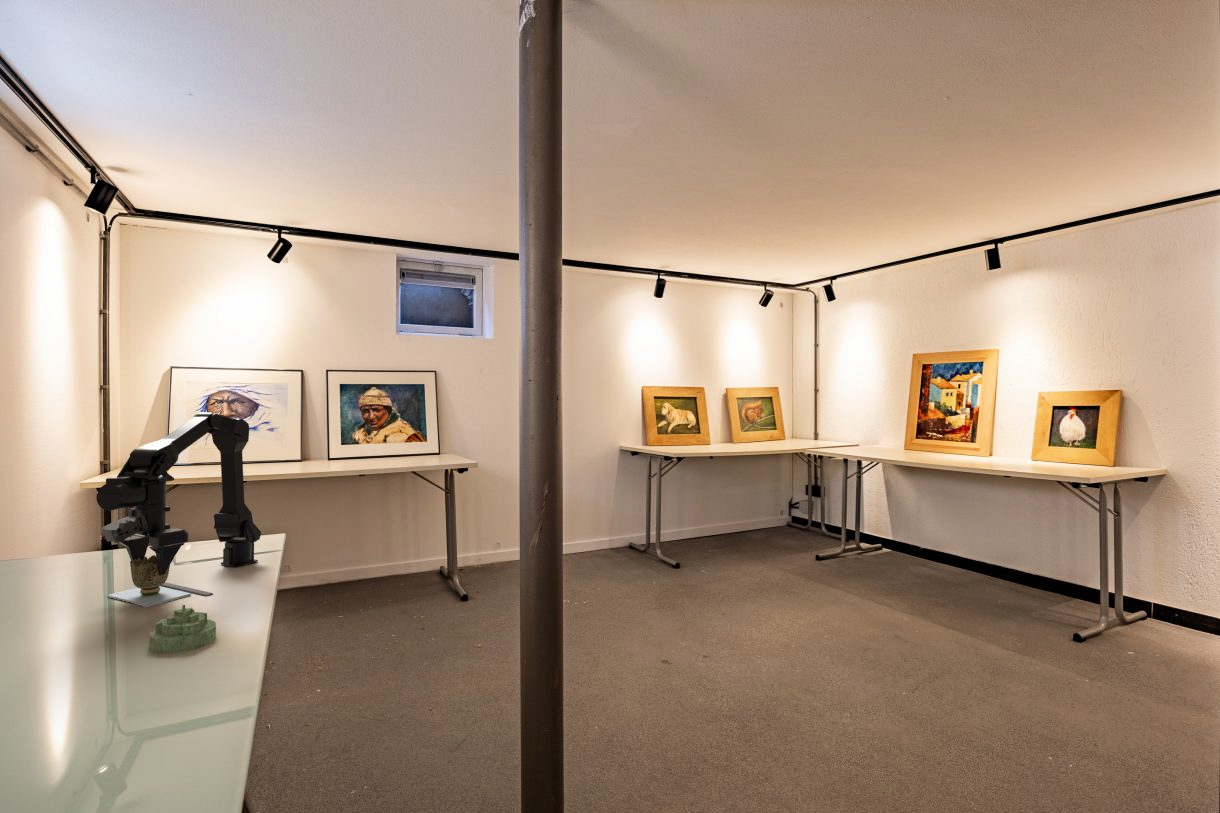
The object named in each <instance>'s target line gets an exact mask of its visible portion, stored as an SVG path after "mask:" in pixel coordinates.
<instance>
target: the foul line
mask: <svg viewBox="0 0 1220 813" xmlns="http://www.w3.org/2000/svg"><path fill="white" fill-rule="evenodd" d="M164 586H166V587H165V588H168V587H169V588H170V589H174V590H179V591H183V592H187V593H191V594H196V595H199V596H204V597H208V596H212V595H214V593H213V592H209V591H206V590H201V589H196V588H192V587H187V586H183V585H179V584H174V583H170V582H166V581H165V583H164V584H162V586H161V587H164Z"/></svg>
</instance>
